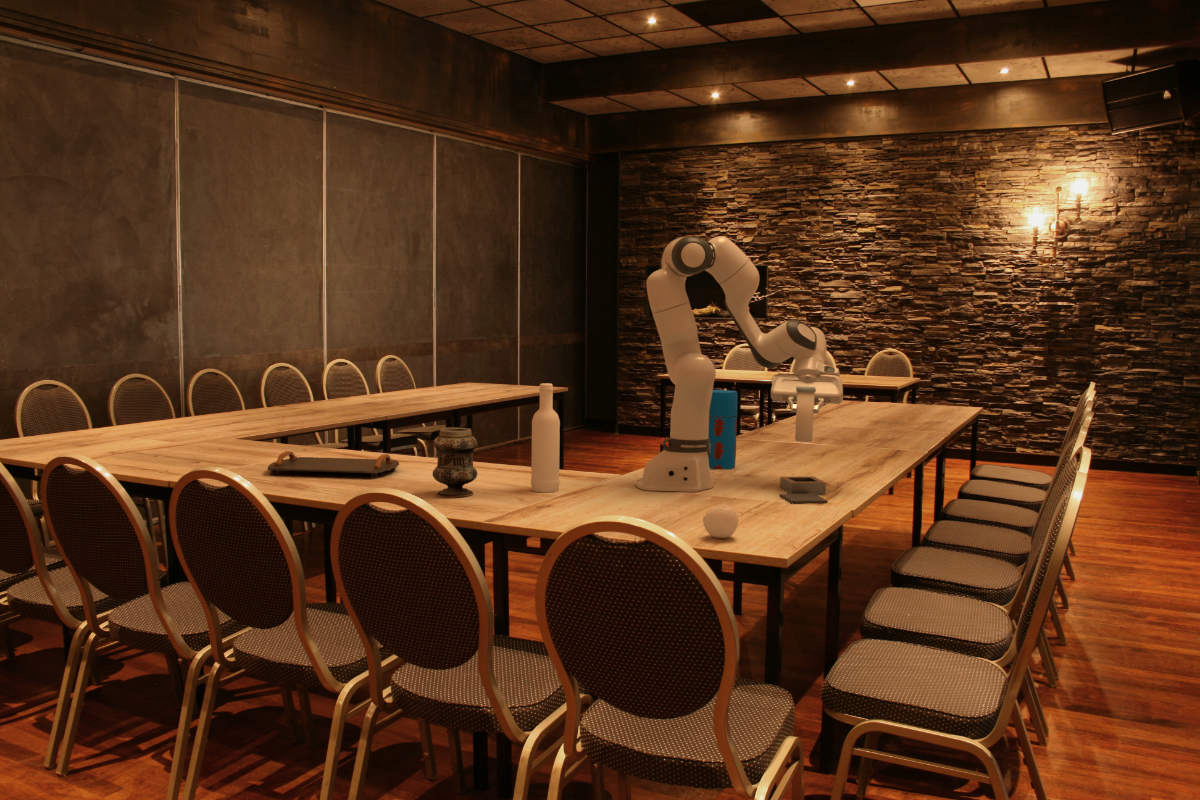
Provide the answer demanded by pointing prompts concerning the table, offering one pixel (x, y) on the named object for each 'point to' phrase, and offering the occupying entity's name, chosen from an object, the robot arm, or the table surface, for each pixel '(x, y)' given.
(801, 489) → the collar
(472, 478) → the apothecary jar
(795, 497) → the mat
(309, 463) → the serving board
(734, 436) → the red-spotted teal box
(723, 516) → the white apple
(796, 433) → the cylinder
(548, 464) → the bottle
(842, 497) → the table surface
